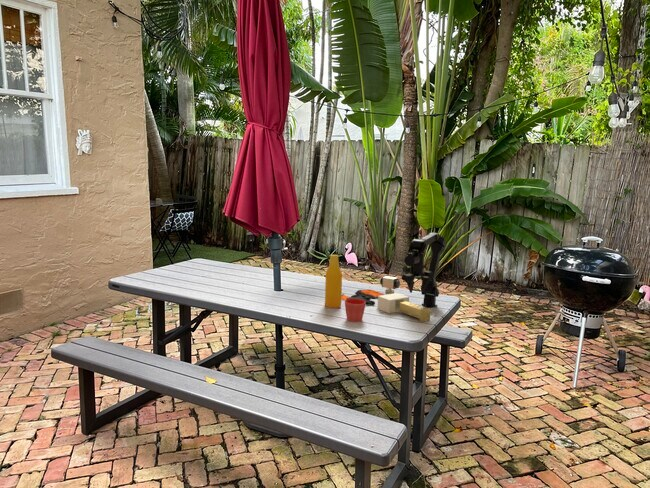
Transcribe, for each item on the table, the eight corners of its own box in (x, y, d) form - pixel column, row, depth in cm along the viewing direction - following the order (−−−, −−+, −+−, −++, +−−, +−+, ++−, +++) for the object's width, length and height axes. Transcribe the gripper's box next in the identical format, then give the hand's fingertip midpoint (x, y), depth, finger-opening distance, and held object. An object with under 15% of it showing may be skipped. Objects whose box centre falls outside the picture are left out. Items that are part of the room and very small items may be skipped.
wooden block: (407, 311, 254) (407, 300, 253) (429, 320, 240) (430, 308, 239) (398, 313, 250) (398, 302, 249) (420, 322, 236) (421, 310, 235)
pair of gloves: (361, 291, 298) (361, 286, 297) (394, 298, 282) (395, 293, 282) (335, 299, 277) (335, 294, 276) (369, 308, 261) (369, 302, 261)
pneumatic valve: (395, 297, 284) (396, 277, 282) (379, 293, 291) (380, 275, 289) (400, 295, 288) (401, 276, 286) (384, 292, 295) (384, 273, 294)
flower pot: (363, 316, 244) (364, 298, 243) (366, 323, 233) (366, 304, 232) (343, 316, 244) (344, 298, 242) (345, 322, 233) (345, 304, 231)
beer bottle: (322, 304, 265) (323, 254, 261) (337, 303, 268) (338, 253, 264) (328, 308, 256) (329, 257, 252) (343, 307, 260) (345, 256, 255)
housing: (396, 305, 267) (397, 292, 266) (408, 309, 258) (409, 296, 257) (377, 308, 259) (377, 295, 258) (389, 313, 251) (389, 300, 250)
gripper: (419, 258, 261) (418, 285, 264) (394, 262, 251) (394, 290, 253) (434, 262, 252) (433, 290, 255) (409, 266, 242) (408, 295, 244)
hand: (417, 291), depth 252 cm, fingers open, 9 cm apart
